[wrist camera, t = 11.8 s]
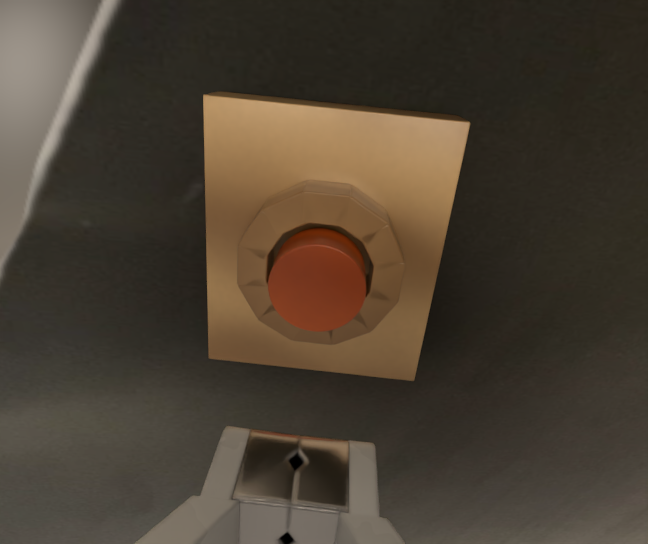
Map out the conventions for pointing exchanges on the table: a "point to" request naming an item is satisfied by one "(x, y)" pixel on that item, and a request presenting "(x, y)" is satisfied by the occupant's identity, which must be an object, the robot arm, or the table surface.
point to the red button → (318, 280)
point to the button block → (326, 223)
